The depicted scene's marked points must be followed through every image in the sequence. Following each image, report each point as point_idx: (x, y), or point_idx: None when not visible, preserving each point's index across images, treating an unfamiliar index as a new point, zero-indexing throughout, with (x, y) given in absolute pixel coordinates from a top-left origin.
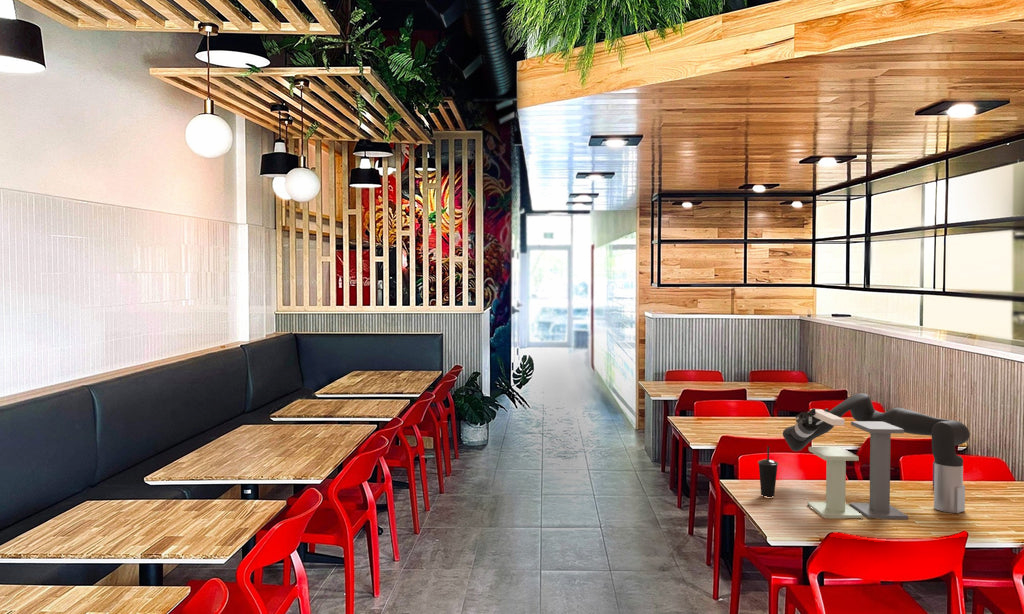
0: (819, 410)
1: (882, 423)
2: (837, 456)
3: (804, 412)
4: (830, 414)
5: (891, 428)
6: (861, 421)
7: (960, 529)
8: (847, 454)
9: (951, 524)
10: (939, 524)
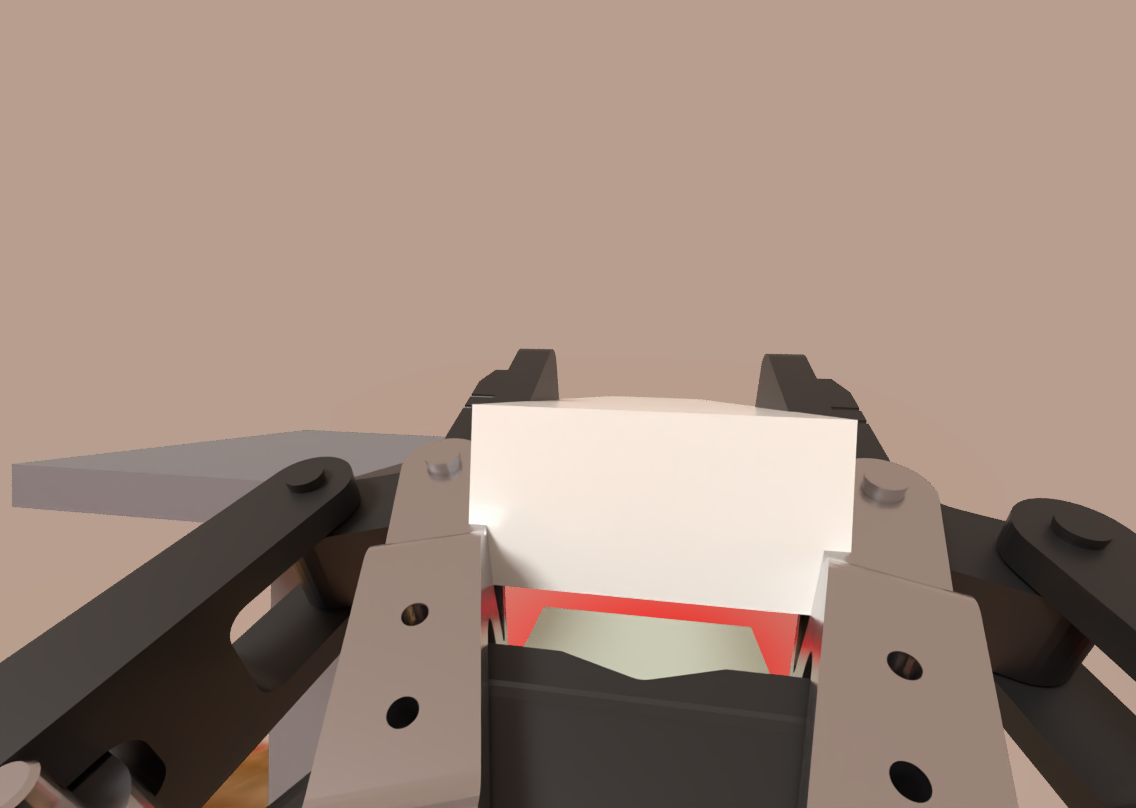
0: (627, 405)
1: (173, 453)
2: (671, 620)
3: (1043, 514)
4: (619, 398)
5: (344, 434)
6: (228, 476)
7: (257, 755)
8: (580, 635)
9: (210, 798)
10: (257, 805)
